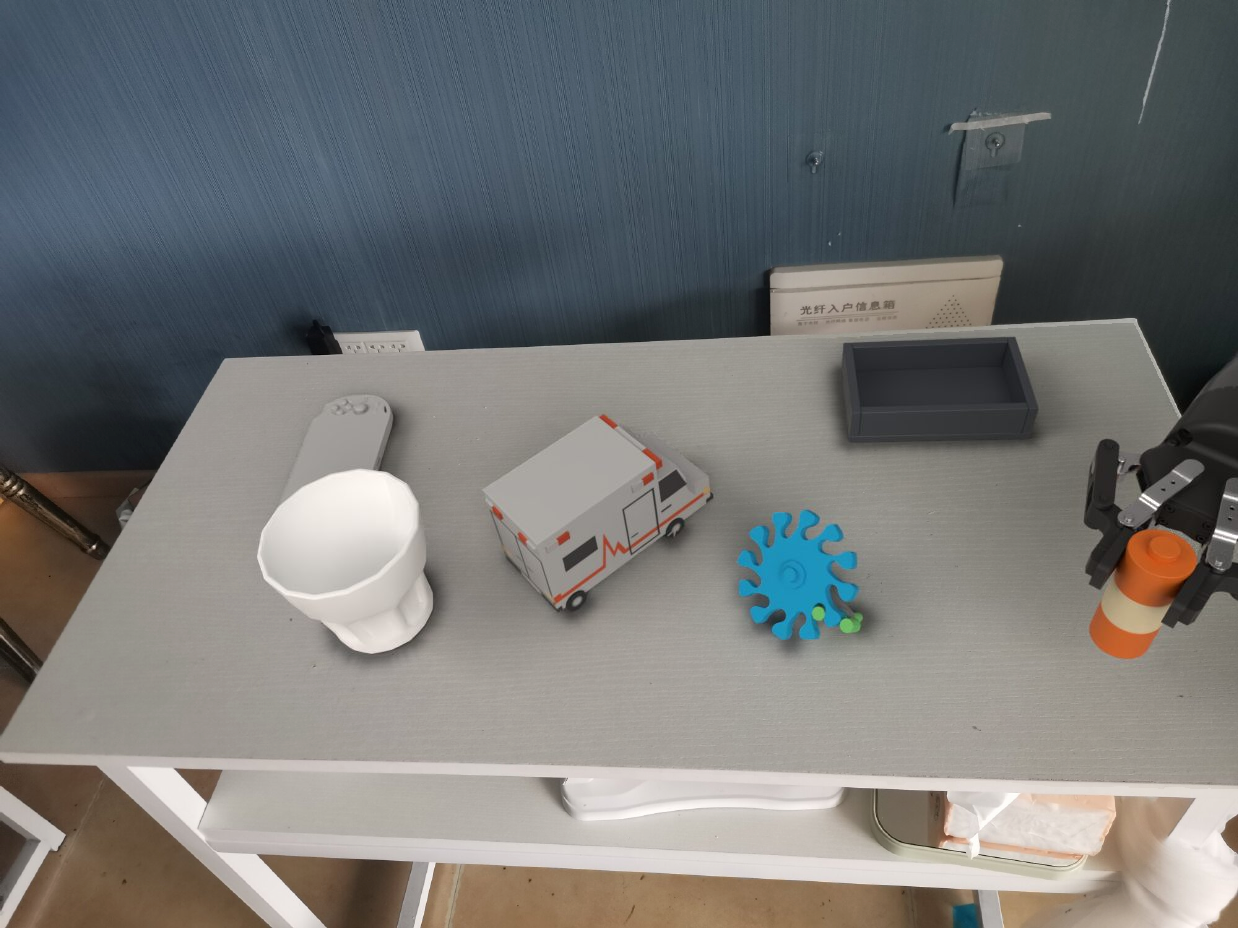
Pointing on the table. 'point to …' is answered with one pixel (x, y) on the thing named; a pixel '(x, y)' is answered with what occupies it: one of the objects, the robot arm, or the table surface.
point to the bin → (937, 390)
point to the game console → (342, 440)
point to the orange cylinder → (1141, 592)
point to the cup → (352, 558)
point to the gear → (801, 578)
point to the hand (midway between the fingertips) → (1134, 597)
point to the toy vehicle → (591, 506)
